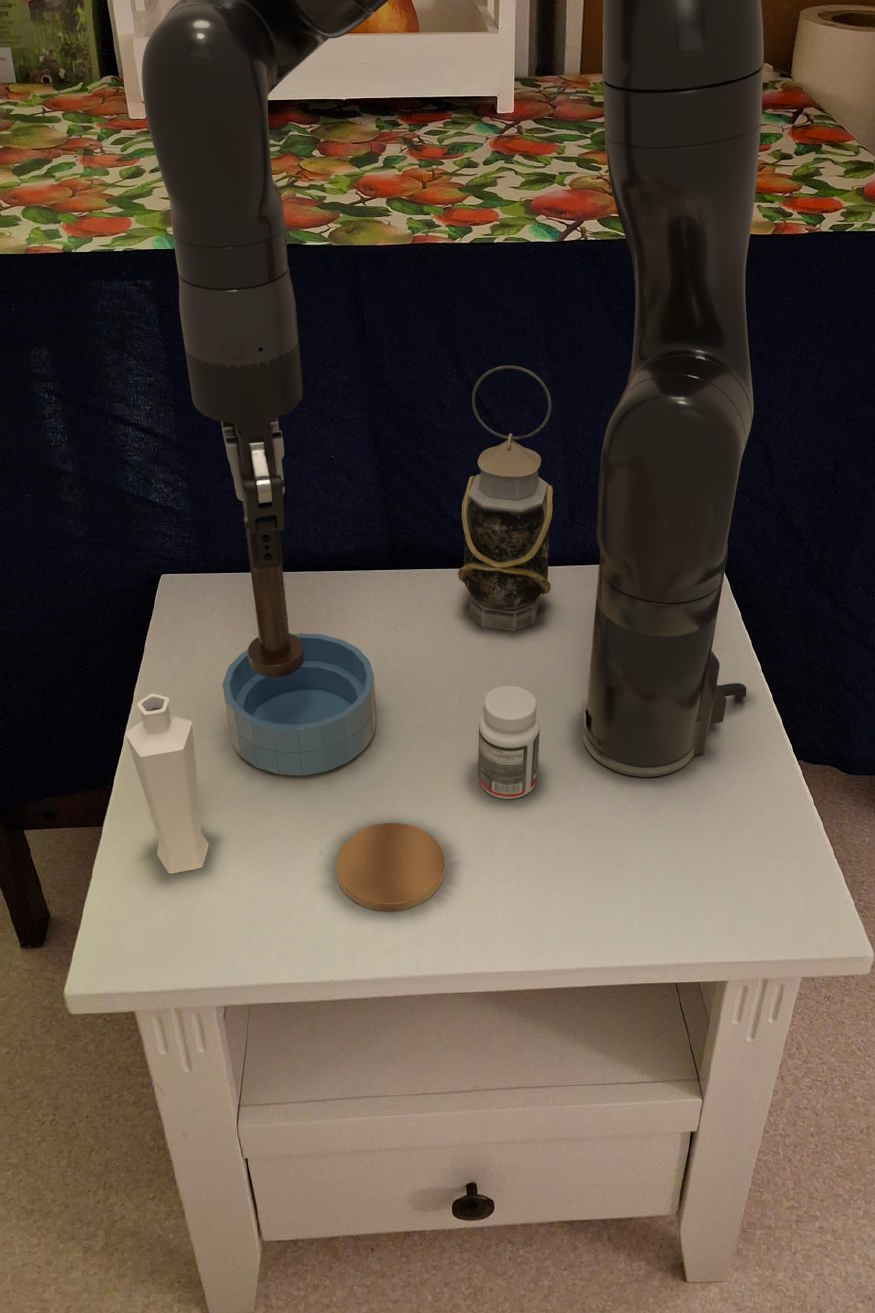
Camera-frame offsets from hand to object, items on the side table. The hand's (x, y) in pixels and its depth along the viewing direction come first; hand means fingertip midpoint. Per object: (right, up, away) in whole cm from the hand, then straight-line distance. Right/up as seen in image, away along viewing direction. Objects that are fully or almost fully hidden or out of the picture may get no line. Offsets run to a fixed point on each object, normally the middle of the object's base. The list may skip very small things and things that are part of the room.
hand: (265, 553), depth 91 cm
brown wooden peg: (0, -8, +6) cm, 10 cm away
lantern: (+19, -4, +24) cm, 31 cm away
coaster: (+9, -24, -1) cm, 25 cm away
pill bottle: (+18, -18, +7) cm, 27 cm away
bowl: (+2, -14, +11) cm, 18 cm away
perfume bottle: (-6, -23, +1) cm, 24 cm away
